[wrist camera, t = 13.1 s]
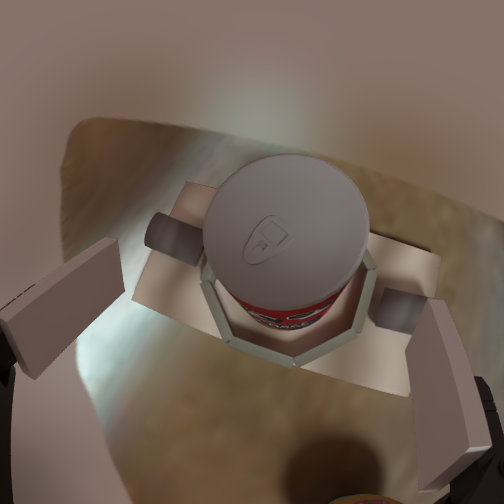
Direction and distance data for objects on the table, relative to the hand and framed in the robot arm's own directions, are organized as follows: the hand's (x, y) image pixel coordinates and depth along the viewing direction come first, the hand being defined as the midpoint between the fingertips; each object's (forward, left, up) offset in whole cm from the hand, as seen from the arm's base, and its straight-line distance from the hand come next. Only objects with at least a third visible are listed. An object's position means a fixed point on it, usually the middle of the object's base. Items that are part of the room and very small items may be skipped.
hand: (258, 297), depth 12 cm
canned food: (+3, -3, -12) cm, 13 cm away
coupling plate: (+3, -3, -13) cm, 14 cm away
